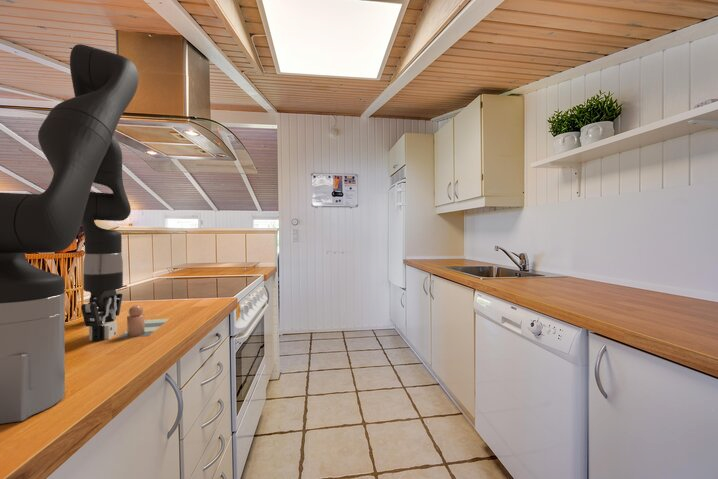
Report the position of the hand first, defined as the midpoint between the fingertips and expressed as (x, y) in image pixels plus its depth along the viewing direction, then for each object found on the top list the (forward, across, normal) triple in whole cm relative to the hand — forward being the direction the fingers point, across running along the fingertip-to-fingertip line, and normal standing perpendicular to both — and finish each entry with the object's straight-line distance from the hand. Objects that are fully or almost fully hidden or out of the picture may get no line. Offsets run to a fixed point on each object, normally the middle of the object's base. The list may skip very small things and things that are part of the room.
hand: (103, 337), depth 73 cm
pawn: (0, 0, -7) cm, 7 cm away
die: (+1, 0, 0) cm, 1 cm away
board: (0, +6, -7) cm, 9 cm away
